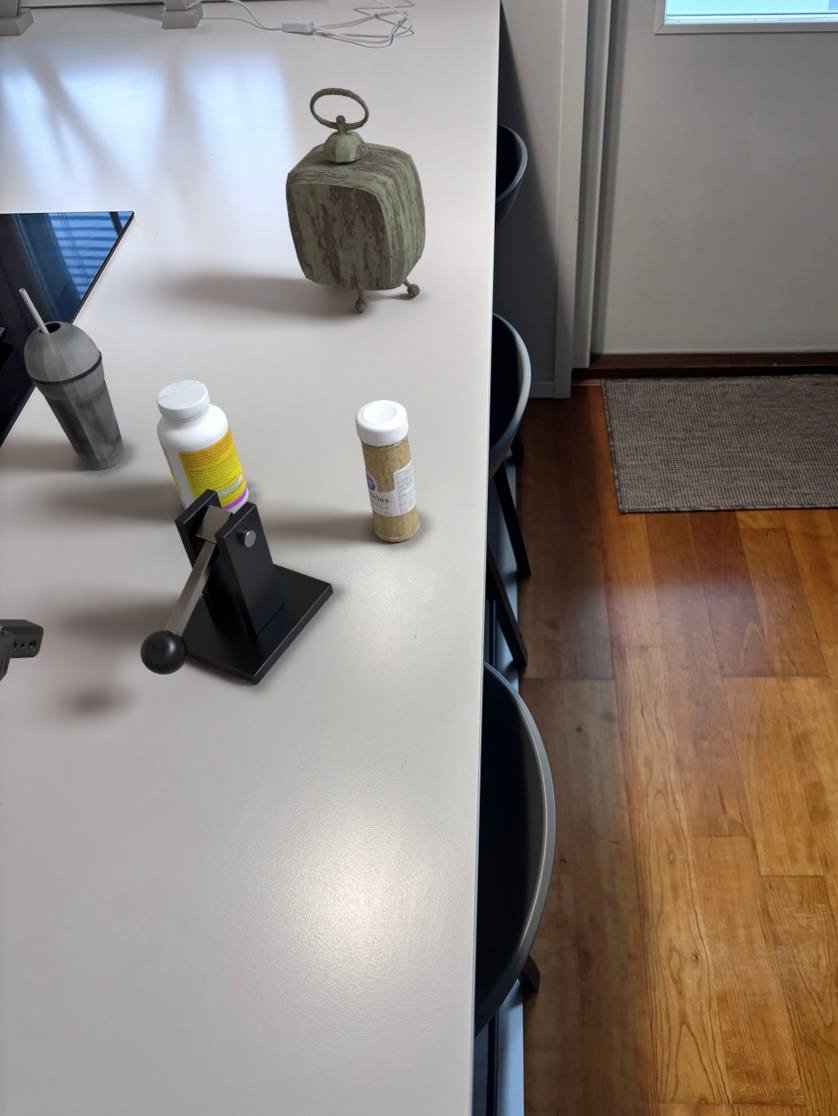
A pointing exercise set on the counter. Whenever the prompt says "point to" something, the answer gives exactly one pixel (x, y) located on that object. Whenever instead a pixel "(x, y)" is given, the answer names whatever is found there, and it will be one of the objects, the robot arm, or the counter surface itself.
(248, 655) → the bracket
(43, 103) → the counter surface
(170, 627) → the lever
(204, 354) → the counter surface
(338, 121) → the tabletop clock
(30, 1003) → the counter surface
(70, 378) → the beverage cup
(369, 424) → the sprinkles bottle
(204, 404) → the supplement bottle
